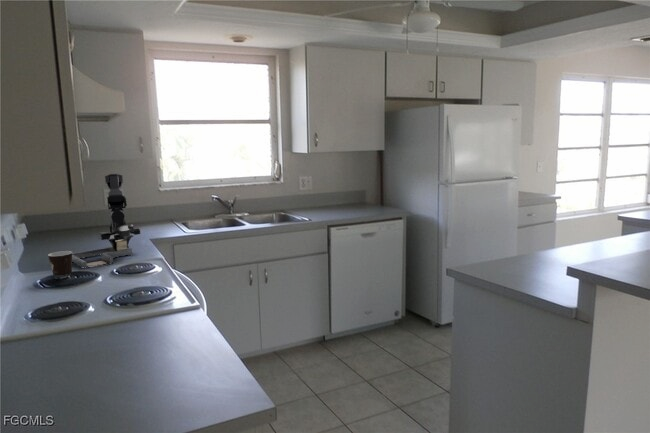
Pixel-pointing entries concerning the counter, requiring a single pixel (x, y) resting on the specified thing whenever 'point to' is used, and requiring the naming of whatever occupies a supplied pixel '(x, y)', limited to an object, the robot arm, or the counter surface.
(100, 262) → the pad
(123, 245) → the maple block
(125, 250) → the channel
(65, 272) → the coffee mug
